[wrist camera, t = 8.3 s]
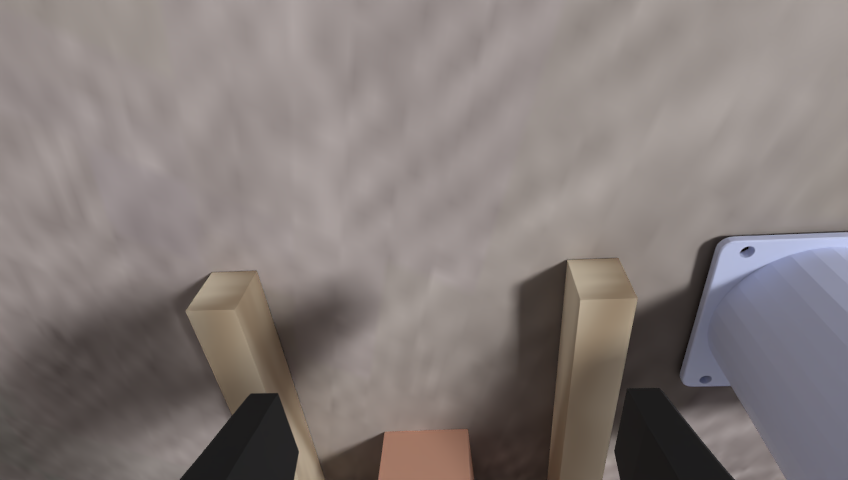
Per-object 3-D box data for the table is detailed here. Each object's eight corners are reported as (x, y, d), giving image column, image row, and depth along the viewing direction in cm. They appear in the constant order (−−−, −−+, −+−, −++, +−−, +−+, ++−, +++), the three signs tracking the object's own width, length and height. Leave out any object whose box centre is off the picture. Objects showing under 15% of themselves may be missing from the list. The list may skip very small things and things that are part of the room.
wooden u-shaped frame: (618, 258, 20) (651, 327, 16) (578, 509, 30) (593, 584, 26) (211, 272, 21) (166, 338, 18) (303, 507, 31) (285, 578, 28)
